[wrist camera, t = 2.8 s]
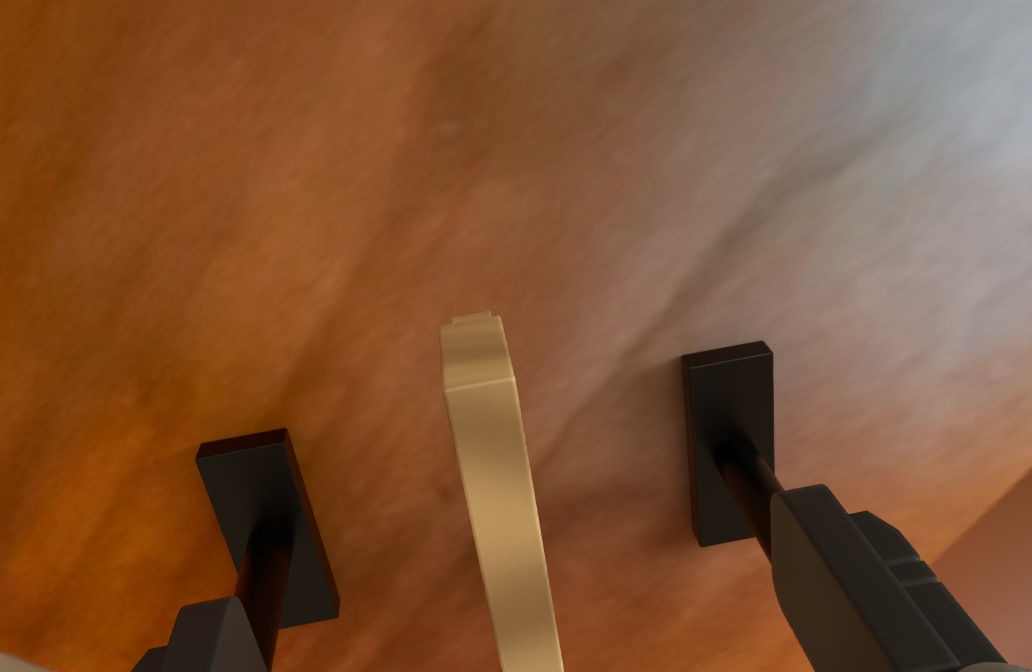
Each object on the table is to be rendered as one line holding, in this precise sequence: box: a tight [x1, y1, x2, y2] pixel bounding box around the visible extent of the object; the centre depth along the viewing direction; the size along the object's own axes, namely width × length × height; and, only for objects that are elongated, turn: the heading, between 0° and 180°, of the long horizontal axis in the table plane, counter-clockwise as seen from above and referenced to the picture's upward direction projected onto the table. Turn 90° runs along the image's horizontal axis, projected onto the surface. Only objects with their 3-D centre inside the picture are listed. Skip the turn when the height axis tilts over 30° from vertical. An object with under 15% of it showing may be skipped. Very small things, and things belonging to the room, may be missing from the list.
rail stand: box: [195, 341, 785, 672], centre depth 24 cm, size 8×20×18 cm, turn 98°
